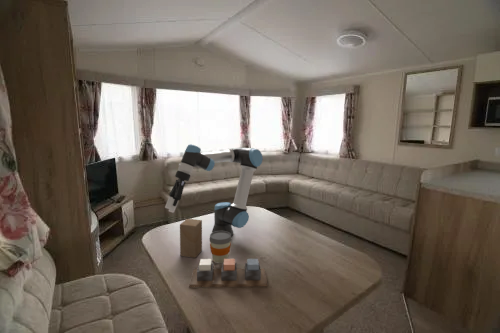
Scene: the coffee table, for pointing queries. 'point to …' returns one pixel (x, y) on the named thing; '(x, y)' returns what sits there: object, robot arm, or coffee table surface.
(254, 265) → the slate button
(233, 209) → the robot arm
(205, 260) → the cream button
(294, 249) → the coffee table surface
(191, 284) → the console
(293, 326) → the coffee table surface
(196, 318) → the coffee table surface
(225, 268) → the terracotta button
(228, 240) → the reusable coffee cup
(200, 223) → the wooden block
